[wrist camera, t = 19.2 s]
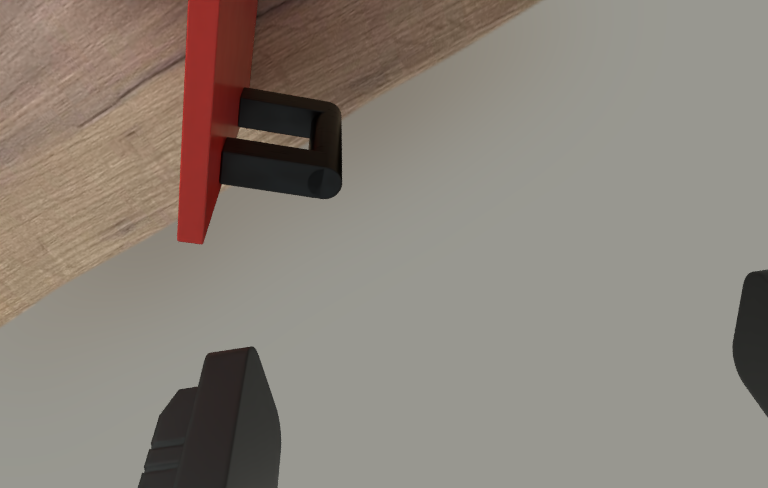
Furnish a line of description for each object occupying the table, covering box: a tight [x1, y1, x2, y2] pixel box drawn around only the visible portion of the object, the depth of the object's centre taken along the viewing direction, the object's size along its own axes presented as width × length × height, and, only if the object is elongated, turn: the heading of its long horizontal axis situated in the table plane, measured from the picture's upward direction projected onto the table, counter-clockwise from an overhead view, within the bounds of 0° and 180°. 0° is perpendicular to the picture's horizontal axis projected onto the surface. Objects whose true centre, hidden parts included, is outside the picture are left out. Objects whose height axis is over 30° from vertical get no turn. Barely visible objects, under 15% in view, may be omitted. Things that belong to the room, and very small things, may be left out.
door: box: [177, 0, 342, 244], centre depth 29 cm, size 6×15×16 cm, turn 169°
